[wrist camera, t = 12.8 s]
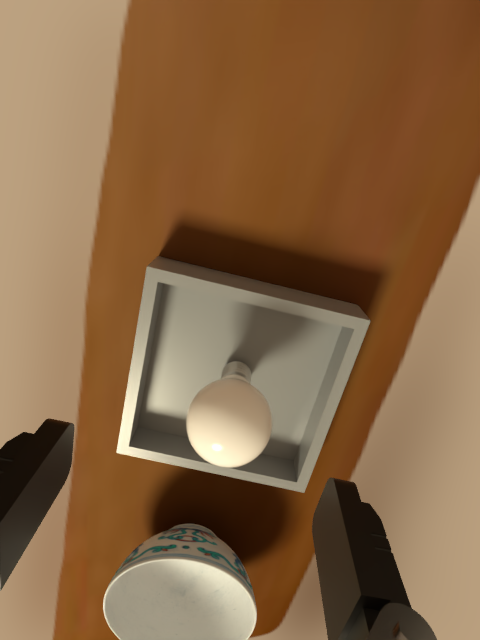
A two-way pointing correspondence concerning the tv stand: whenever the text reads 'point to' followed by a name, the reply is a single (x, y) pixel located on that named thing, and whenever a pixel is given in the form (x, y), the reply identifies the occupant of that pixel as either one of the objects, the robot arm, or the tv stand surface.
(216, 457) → the lightbulb
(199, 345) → the tray
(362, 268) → the tv stand surface
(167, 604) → the chinaware
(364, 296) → the tv stand surface
